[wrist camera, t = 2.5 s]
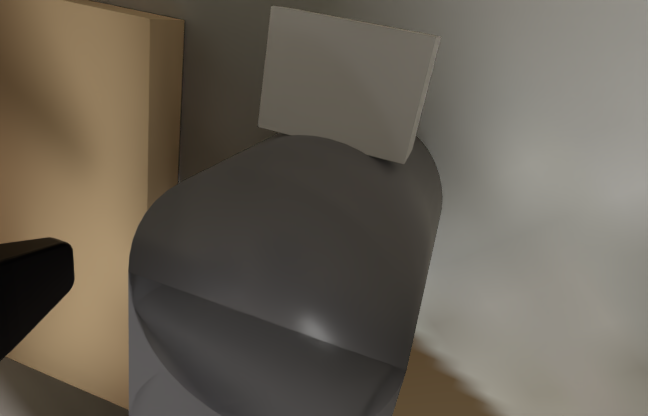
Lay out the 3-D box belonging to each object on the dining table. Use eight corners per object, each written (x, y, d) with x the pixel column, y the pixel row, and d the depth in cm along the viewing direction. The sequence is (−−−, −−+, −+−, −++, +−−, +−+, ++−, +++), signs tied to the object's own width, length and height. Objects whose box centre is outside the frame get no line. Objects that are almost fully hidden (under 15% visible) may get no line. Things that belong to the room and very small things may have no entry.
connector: (249, 339, 13) (128, 500, 8) (293, 6, 9) (127, -17, 5) (388, 390, 12) (334, 599, 8) (492, 44, 9) (505, 57, 4)
